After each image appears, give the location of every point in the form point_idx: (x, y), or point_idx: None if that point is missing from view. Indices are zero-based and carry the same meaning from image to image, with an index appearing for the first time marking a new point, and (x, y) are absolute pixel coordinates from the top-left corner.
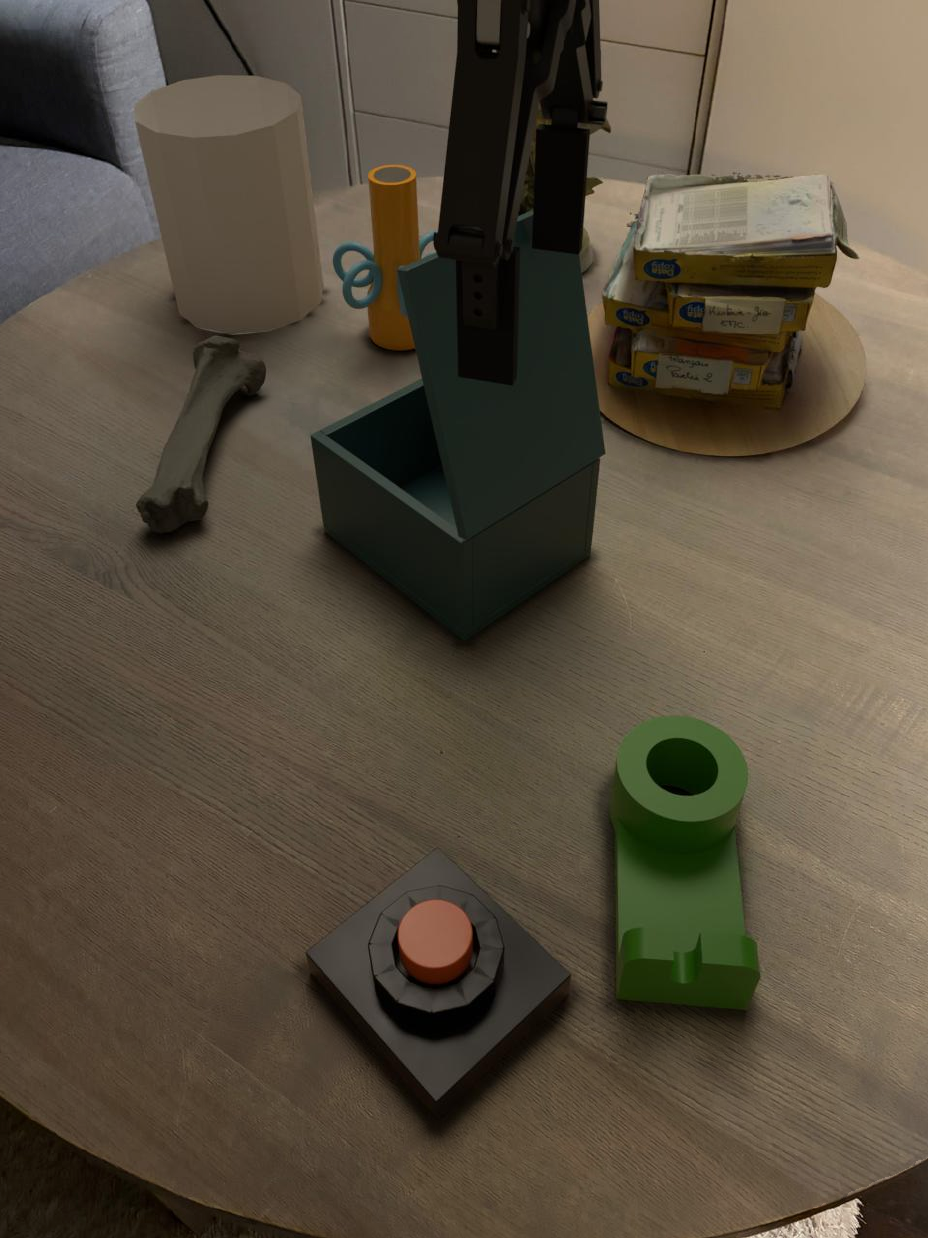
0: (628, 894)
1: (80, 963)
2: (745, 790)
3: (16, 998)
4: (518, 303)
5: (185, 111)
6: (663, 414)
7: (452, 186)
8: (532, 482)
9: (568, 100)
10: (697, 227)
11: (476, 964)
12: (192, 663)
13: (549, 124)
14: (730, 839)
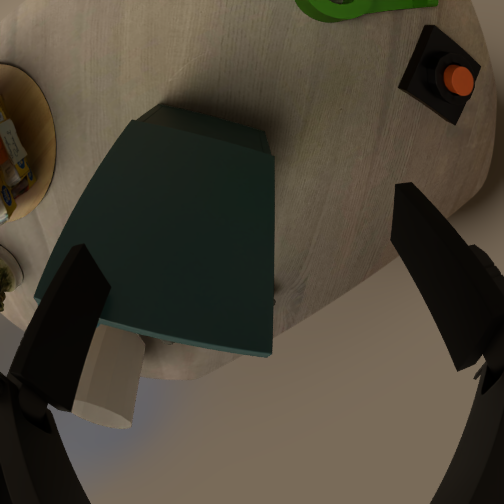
0: (388, 5)
1: (454, 193)
2: None
3: (463, 203)
4: (449, 247)
5: (99, 413)
6: (35, 141)
7: None
8: (204, 143)
9: (34, 435)
10: None
11: (457, 62)
12: (333, 236)
13: None
14: None
